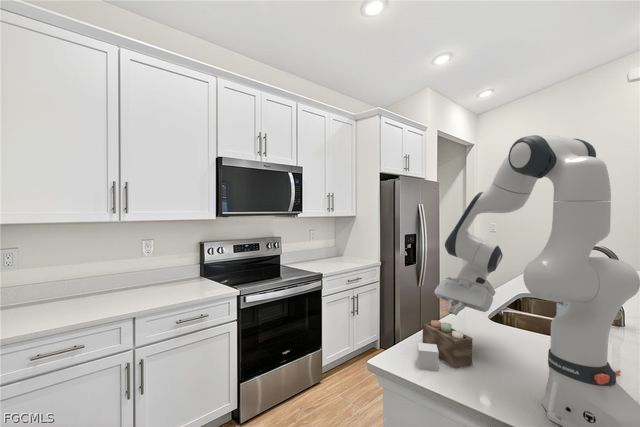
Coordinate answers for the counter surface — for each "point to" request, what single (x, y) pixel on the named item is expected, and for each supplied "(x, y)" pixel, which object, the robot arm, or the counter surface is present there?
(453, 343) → the brown wooden box
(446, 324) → the sage button
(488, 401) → the counter surface
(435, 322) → the terracotta button
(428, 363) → the grey cube
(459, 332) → the cream button
